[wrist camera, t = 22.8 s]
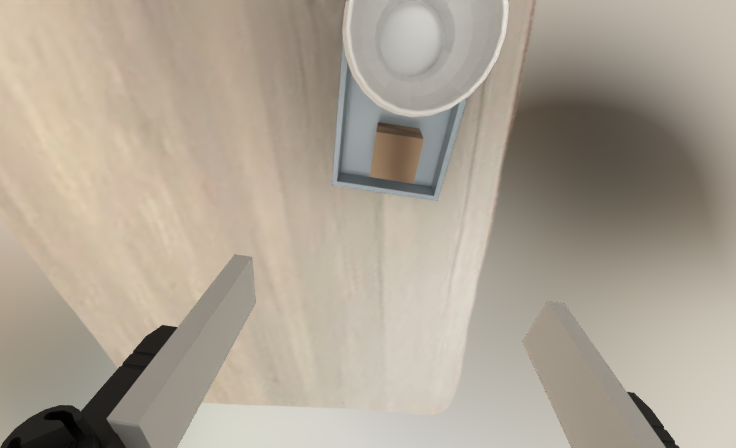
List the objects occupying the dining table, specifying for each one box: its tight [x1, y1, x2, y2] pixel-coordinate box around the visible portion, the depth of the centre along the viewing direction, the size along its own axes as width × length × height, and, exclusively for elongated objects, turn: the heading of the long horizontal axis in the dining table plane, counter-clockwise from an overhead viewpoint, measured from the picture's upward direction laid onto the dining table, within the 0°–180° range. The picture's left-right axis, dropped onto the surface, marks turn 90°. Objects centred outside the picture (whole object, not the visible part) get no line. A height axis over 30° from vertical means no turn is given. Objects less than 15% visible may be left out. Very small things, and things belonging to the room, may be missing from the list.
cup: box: [342, 0, 509, 117], centre depth 24 cm, size 11×11×15 cm
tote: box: [332, 0, 467, 201], centre depth 32 cm, size 21×13×4 cm, turn 172°
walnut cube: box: [370, 122, 424, 183], centre depth 34 cm, size 5×5×5 cm
